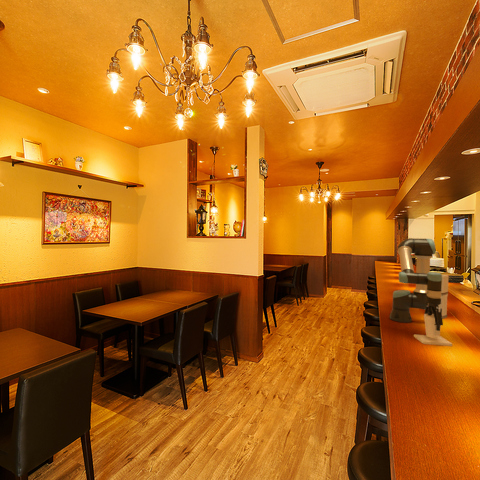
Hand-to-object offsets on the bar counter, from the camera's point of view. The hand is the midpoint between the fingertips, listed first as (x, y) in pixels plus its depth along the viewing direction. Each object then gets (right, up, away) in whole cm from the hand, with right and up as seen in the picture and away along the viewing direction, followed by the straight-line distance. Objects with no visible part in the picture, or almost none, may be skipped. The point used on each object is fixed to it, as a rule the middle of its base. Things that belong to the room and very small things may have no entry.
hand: (432, 332), depth 170 cm
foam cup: (0, -3, 0) cm, 3 cm away
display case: (+43, -6, +56) cm, 71 cm away
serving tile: (0, -5, 0) cm, 5 cm away
